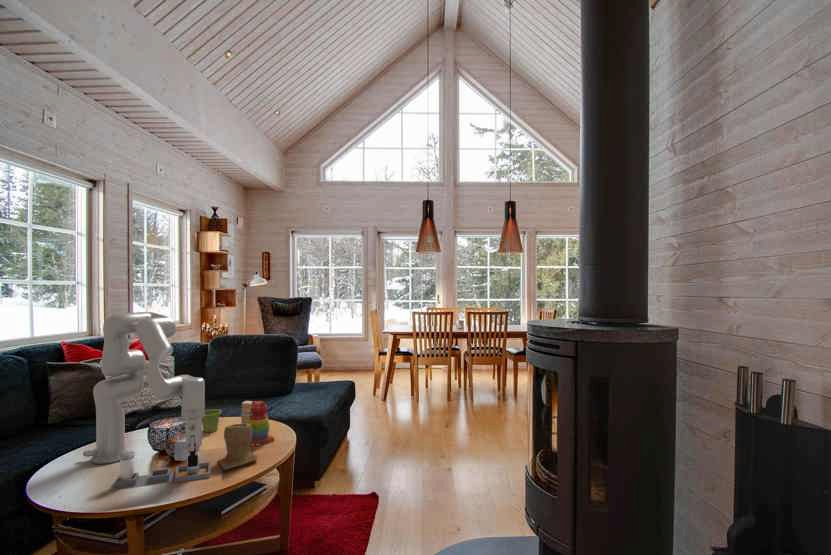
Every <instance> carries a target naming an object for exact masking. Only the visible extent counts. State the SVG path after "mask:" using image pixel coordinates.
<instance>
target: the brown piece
mask: <svg viewBox="0 0 831 555" xmlns="http://www.w3.org/2000/svg"><path fill="white" fill-rule="evenodd" d="M223 431H224V432H223V438H224V442H225V447H226V452H227V453H226V455H225V456H224V457H223V458H221V459H219V460H217V464H219V465H220V467H221V470H222V471H225V470H229V469H233V468H236V467H237V468H238V467H240V466H243V465H247V464H248V463H251V462H255V461H256V460H258V459H259V457H258V456H257V455H256V454H254V453H251V451H250V447H251V445H250V443H251V440H252V426H251V425H250V424H241V423H236V424H229V425H226V426H225V428H224V430H223Z"/></svg>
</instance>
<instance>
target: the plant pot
mask: <svg viewBox="0 0 831 555" xmlns="http://www.w3.org/2000/svg"><path fill="white" fill-rule="evenodd" d="M221 413H222V410H221V409H206V410H205V416H204V417H202V432H204V433H213V431H214V432H216V431H217V430H218V427H219V421H220V416H221Z"/></svg>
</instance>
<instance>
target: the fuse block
mask: <svg viewBox="0 0 831 555" xmlns="http://www.w3.org/2000/svg"><path fill="white" fill-rule="evenodd" d="M171 469H172V468H170V467H169V468H163V469H155V470H151V471H150V474H145V475H140V474H139V472H134V479H129V480H121V481H120V474H119V475H118V476H117V478H116V479H115V481H114V483H113V485H112V487H111V489H110V492H112V491H121V490H126V489H127V490H128V489H135V488H141V487H142V488H143V487H149V486H155V485H156V486H157V485H161V484H162V485H163V484H169V483H172V482H173V479H174V475H175V471H172V470H171Z"/></svg>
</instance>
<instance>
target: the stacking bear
mask: <svg viewBox="0 0 831 555" xmlns="http://www.w3.org/2000/svg"><path fill="white" fill-rule="evenodd" d="M252 401H253V402H252V406H251V413H252V415H251V416H250V418H249V420H248V424H250V425H251V426H252V440H251V443H250V444H254V445H253V446H257V445H256V444H263V445H265V444H264V443H267V444H269V443H268V442H270V443H272V442H274V441H275V436H272V435H269V431H270V420H269V417H268V415H267V410H268V405H267V404H266V402H264V401H263V400H262V401H261V400H258V401H257V402H255V400H252ZM271 441H272V442H271Z"/></svg>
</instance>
